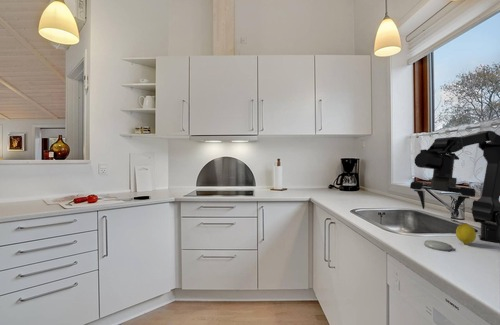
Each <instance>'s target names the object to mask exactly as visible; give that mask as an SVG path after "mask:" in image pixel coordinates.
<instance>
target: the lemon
mask: <svg viewBox="0 0 500 325" xmlns="http://www.w3.org/2000/svg"><path fill="white" fill-rule="evenodd" d="M455 236H456V238H457V240H459V241H460V242H461V243H463V244H464V245H468V244H471V243H473V242H474V241H475V240H476V237H477V233H476V230H475V228H474V227H473V226H472V225H470V224H468V223H467V222H466V223H465V222H464V223H461V224H459V225H458V226H457V227H456V230H455Z"/></svg>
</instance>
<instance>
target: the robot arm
mask: <svg viewBox="0 0 500 325" xmlns="http://www.w3.org/2000/svg"><path fill="white" fill-rule="evenodd" d="M475 144H478V148H479V149H480V150H481V151H482V153H483V154H482V155H483V157H484V159H485V161H486V167H485V172H484V178H483V184H482V185H483V186H482V190H481V196H480V198H478V199H477V200H476V199H475V200H473V201H472V207H471V209H470V211H471V214H472V218H473V221H474V222H475V223H480V234H478V238H479V240H480V241H487V242H493V243H498V244H500V134H497V132H495V130H494V131H493V130H483V131H477V132H475V133H471V134H470V133H469V134H465V135H461V136H450V137H439V138H438V137H437V138H435V139H434V141H433V143H432V144H431V145H430V146H429V147H428V149H420V150H419V152H418V153H417V155H416V156H415V157H414V164H415V166H416V167H418V168H422V169H428V170H429V169H430V170H433V172H432V177H431V180H430V184H425V183H426V182H418V181H412V182H410V187H409V188H410V189H413V191H414V192H417V194H418V196H419V199H420V203H421V207H422V209H423V210H425V208H426V191H425V190H430V191H439V192H447V193H454V194H459V195H458V196H457V199H456V204H455V206H454V209H453V210H454V211H453V215H456V213H457V212H458V210H459V208H460V206H461V205H462V204H463V202H464V201H465V200H466V199H470V198H471V197H476V189H475V188H471V187H464V186H463V187H462V186H461V187H460V188H457V180H458V179H457V177H453V175H454V166H455V160H460V157H459V156H458V155H456V152H459V151H461V150H463V149H464V148H465V147H467V146H473V145H475Z"/></svg>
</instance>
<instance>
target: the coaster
mask: <svg viewBox="0 0 500 325" xmlns="http://www.w3.org/2000/svg"><path fill="white" fill-rule="evenodd" d="M423 246H424V247H426V246H427V248H428V249H432V250H436V251H440V252H441V251H442V252H452V251H453V246H452V245H451V244H449V243H447V242H444V241H439V240H433V239H430V240H429V239H427V240H424V242H423Z"/></svg>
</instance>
